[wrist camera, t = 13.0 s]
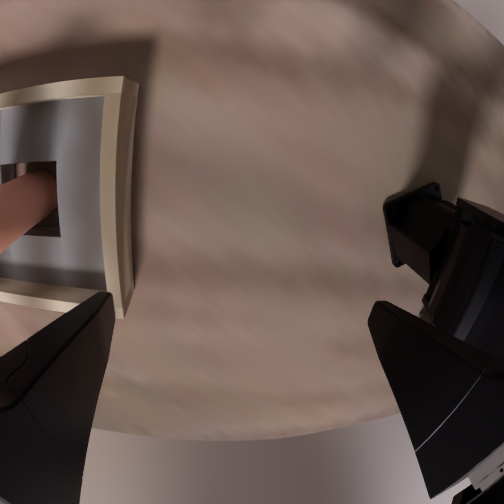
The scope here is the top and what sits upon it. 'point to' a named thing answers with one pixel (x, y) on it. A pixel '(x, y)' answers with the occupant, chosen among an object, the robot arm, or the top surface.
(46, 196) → the peg
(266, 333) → the top surface
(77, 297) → the box
